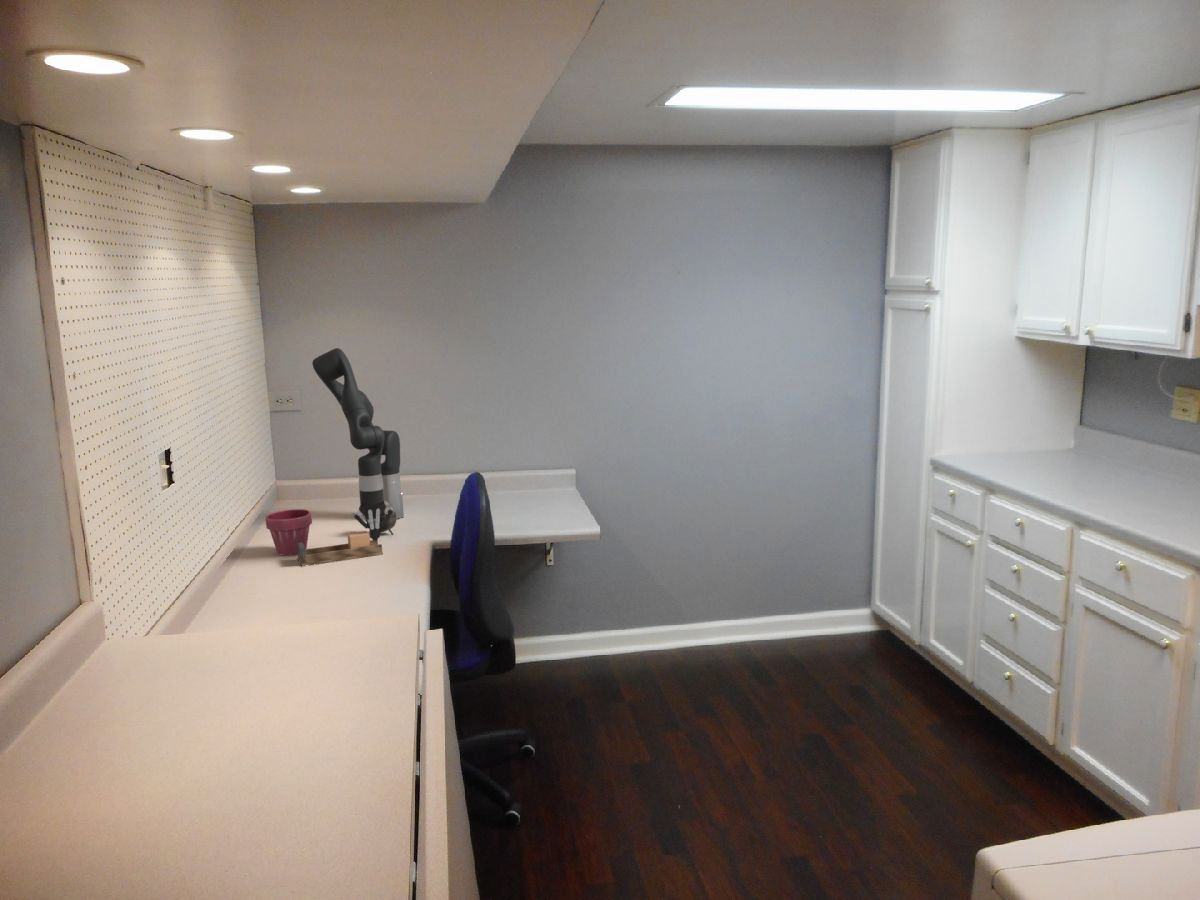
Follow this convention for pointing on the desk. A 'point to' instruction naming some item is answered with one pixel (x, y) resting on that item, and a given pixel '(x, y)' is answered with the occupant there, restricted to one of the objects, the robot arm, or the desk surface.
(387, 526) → the alarm clock
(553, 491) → the desk surface
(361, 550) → the walnut chute
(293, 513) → the plant pot
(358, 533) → the terracotta block
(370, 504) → the robot arm
